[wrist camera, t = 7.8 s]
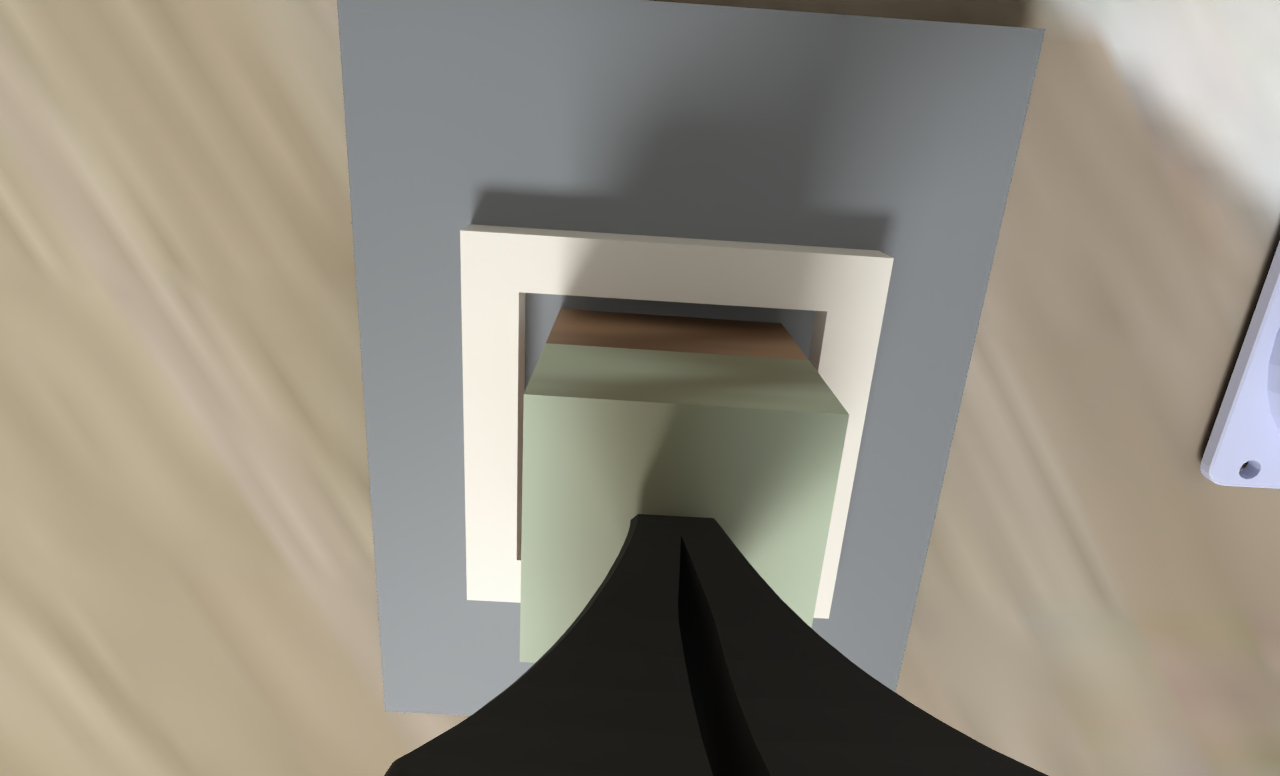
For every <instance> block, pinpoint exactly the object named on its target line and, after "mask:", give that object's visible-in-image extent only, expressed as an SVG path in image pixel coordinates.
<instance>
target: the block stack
mask: <svg viewBox="0 0 1280 776" xmlns="http://www.w3.org/2000/svg"><path fill="white" fill-rule="evenodd" d="M848 419H849V414H848V412H847V411H846V409H845V408H844V407H843V405H842V404H841V403H840V401H839V400H838V399H837V397H836V396H835V395H834V393H833V392H832V391H831V389H830V388H829V387H828V385H827V384H826V383H825V381H824V380H823V379H822V377H821V376H820V374H819V373H818V372H817V370H816V369H815V368H814V366H813V365H812V364H811V362H810V361H809V360H808V358H807V357H806V356H805V354H804V353H803V352H802V350H801V349H800V348H799V346H798V345H797V343H796V342H795V341H794V339H793V338H792V337H791V335H790V334H789V333H788V331H787V330H786V329H785V327H784V326H783V325H782V323H771V322H756V321H740V320H725V319H710V318H695V317H679V316H664V315H649V314H634V313H618V312H603V311H588V310H573V309H560V311H559V313H558V316H557V318H556V320H555V323H554V325H553V327H552V330H551V332H550V334H549V337H548V339H547V341H546V344H545V346H544V348H543V350H542V353H541V355H540V357H539V360H538V362H537V364H536V367H535V369H534V371H533V374H532V376H531V378H530V381H529V383H528V385H527V388H526V390H525V392H524V407H523V472H522V537H521V602H520V662H529V663H536V662H537V661H538V660H539V659H540V658H541V657H542V656H543V655H544V654H545V653H546V652H547V651H548V650H549V649H550V648H551V647H552V646H553V645H554V644H555V643H556V642H557V640H558V639H559V638H560V637H561V636H562V635H563V634H564V633H565V632H566V630H567V629H568V628H569V627H570V626H571V624H572V623H573V622H574V621H575V620H576V618H577V617H578V616H579V615H580V613H581V612H582V611H583V609H584V608H585V606H586V605H587V604H588V602H589V601H590V599H591V598H592V597H593V595H594V594H595V592H596V591H597V589H598V588H599V587H600V585H601V584H602V582H603V581H604V579H605V577H606V576H607V574H608V572H609V570H610V569H611V567H612V565H613V563H614V562H615V560H616V558H617V556H618V554H619V552H620V550H621V548H622V546H623V544H624V542H625V539H626V537H627V534H628V531H629V527H630V520H631V519H632V518H634V517H635V516H636V515H637V514H648V515H666V516H685V517H703V518H714V519H715V520H716V521H717V522H718V523H719V525H720V526H721V527H722V528H723V530H724V531H725V532H726V534H727V535H728V536H729V538H730V539H731V540H732V541H733V543H734V544H735V545H736V547H737V548H738V549H739V550H740V552H741V553H742V554H743V555H744V557H745V558H746V559H747V560H748V562H749V563H750V564H751V565H752V566H753V568H754V569H755V570H756V571H757V572H758V574H759V575H760V576H761V577H762V578H763V579H764V580H765V581H766V583H767V584H768V585H769V586H770V587H771V588H772V589H773V591H774V592H775V593H776V594H777V595H778V596H779V597H780V598H781V599H782V600H783V601H784V602H785V603H786V604H787V605H788V606H789V607H790V608H791V609H792V610H793V611H794V612H795V613H796V614H797V615H798V616H799V617H800V618H801V619H802V620H803V621H804V622H805V623H806V624H807V625H808V626H810V627H811V628H812V623H813V617H814V612H815V606H816V600H817V595H818V589H819V583H820V578H821V572H822V566H823V561H824V555H825V549H826V544H827V538H828V532H829V527H830V521H831V515H832V510H833V504H834V498H835V493H836V487H837V482H838V476H839V470H840V465H841V459H842V453H843V448H844V442H845V436H846V431H847V425H848Z"/></svg>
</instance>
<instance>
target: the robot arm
mask: <svg viewBox="0 0 1280 776" xmlns="http://www.w3.org/2000/svg"><path fill="white" fill-rule="evenodd" d="M1247 461H1248V464H1247V466H1246V467H1245V468H1244V469H1243V470H1241V471H1240V468H1241V466H1242V465H1243V464H1244V463H1246V462H1247ZM1200 469H1201V472H1202V474H1203V475H1204V476H1205V477H1206V478H1207V479H1209V480H1211V481H1212V482H1214V483H1215V484H1219V485H1223V486H1241V487H1258V488H1276V489H1280V241H1279V244H1278V247H1277V250H1276V253H1275V255H1274V258H1273V261H1272V264H1271V267H1270V269H1269V272H1268V275H1267V278H1266V281H1265V283H1264V286H1263V289H1262V292H1261V295H1260V298H1259V300H1258V303H1257V306H1256V309H1255V312H1254V314H1253V317H1252V320H1251V323H1250V326H1249V329H1248V331H1247V334H1246V337H1245V340H1244V343H1243V345H1242V348H1241V351H1240V354H1239V357H1238V360H1237V362H1236V365H1235V368H1234V371H1233V374H1232V376H1231V379H1230V382H1229V385H1228V388H1227V390H1226V393H1225V396H1224V399H1223V402H1222V405H1221V407H1220V410H1219V413H1218V416H1217V419H1216V421H1215V424H1214V427H1213V430H1212V433H1211V436H1210V438H1209V441H1208V444H1207V447H1206V450H1205V452H1204V455H1203V458H1202V461H1201V467H1200ZM384 776H1048V775H1046V774H1043V773H1041V772H1039V771H1037V770H1035V769H1033V768H1031V767H1029V766H1026V765H1024V764H1022V763H1020V762H1018V761H1016V760H1014V759H1012V758H1009V757H1007V756H1005V755H1003V754H1001V753H999V752H997V751H995V750H993V749H991V748H989V747H987V746H985V745H983V744H981V743H979V742H977V741H976V740H974V739H972V738H970V737H968V736H967V735H965V734H963V733H961V732H959V731H958V730H956V729H954V728H952V727H951V726H949V725H947V724H945V723H943V722H942V721H940V720H938V719H936V718H935V717H933V716H931V715H930V714H928V713H927V712H925V711H923V710H922V709H920V708H918V707H917V706H915V705H913V704H912V703H910V702H909V701H907V700H906V699H904V698H903V697H901V696H900V695H898V694H897V693H895V692H894V691H892V690H891V689H889V688H888V687H886V686H885V685H883V684H882V683H880V682H879V681H877V680H876V679H875V678H873V677H872V676H870V675H869V674H868V673H866V672H865V671H863V670H862V669H861V668H859V667H858V666H857V665H855V664H854V663H853V662H851V661H850V660H849V659H848V658H847V657H845V656H844V655H843V654H842V653H840V652H839V651H838V650H837V649H835V648H834V647H833V646H832V645H831V644H829V643H828V642H827V641H826V640H824V639H823V638H822V637H821V636H820V635H819V634H817V633H816V632H815V631H814V630H813V629H812V628H811V627H810V626H808V625H807V624H806V623H805V622H804V621H803V620H802V619H801V618H800V617H799V616H798V615H797V614H796V613H795V612H794V611H793V610H792V609H791V608H790V607H789V606H788V605H787V604H786V603H785V602H784V601H783V600H782V599H781V598H780V597H779V596H778V595H777V594H776V593H775V592H774V591H773V589H772V588H771V587H770V586H769V585H768V584H767V583H766V581H765V580H764V579H763V578H762V577H761V576H760V575H759V574H758V572H757V571H756V570H755V569H754V568H753V566H752V565H751V564H750V563H749V562H748V560H747V559H746V558H745V557H744V555H743V554H742V553H741V552H740V550H739V549H738V548H737V547H736V545H735V544H734V543H733V541H732V540H731V539H730V538H729V536H728V535H727V534H726V532H725V531H724V530H723V528H722V527H721V526H720V525H719V523H718V522H717V521H716V520H715V519H714V518H703V517H685V516H666V515H648V514H637V515H636V516H635V517H634V518H632V519H631V520H630V527H629V531H628V534H627V537H626V539H625V542H624V544H623V546H622V548H621V550H620V552H619V554H618V556H617V558H616V560H615V562H614V563H613V565H612V567H611V569H610V570H609V572H608V574H607V576H606V577H605V579H604V581H603V582H602V584H601V585H600V587H599V588H598V589H597V591H596V592H595V594H594V595H593V597H592V598H591V599H590V601H589V602H588V604H587V605H586V606H585V608H584V609H583V611H582V612H581V613H580V615H579V616H578V617H577V618H576V620H575V621H574V622H573V623H572V624H571V626H570V627H569V628H568V629H567V630H566V632H565V633H564V634H563V635H562V636H561V637H560V638H559V639H558V640H557V642H556V643H555V644H554V645H553V646H552V647H551V648H550V649H549V650H548V651H547V652H546V653H545V654H544V655H543V656H542V657H541V658H540V659H539V660H538V661H537V662H536V663H535V664H534V665H533V666H532V667H530V668H529V669H528V670H527V671H526V672H525V673H524V674H523V675H522V676H521V677H520V678H518V679H517V680H516V681H515V682H514V683H513V684H512V685H510V686H509V687H508V688H507V689H505V690H504V691H503V692H501V693H500V694H499V695H498V696H496V697H495V698H494V699H492V700H491V701H490V702H488V703H487V704H486V705H484V706H483V707H482V708H480V709H479V710H478V711H476V712H475V713H474V714H473V715H471V716H470V717H468V718H467V719H466V720H464V721H462V722H461V723H459V724H458V725H456V726H455V727H453V728H451V729H449V730H448V731H446V732H444V733H443V734H441V735H439V736H438V737H436V738H434V739H432V740H431V741H429V742H427V743H426V744H424V745H422V746H420V747H419V748H417V749H415V750H414V751H412V752H410V753H408V754H406V755H404V756H403V757H401V758H399V759H397V760H396V761H394V762H393V763H392V765H391V766H390V768H389V769H388V771H387V772H386V774H385V775H384Z"/></svg>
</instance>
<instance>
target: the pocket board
mask: <svg viewBox="0 0 1280 776" xmlns="http://www.w3.org/2000/svg"><path fill="white" fill-rule="evenodd" d="M337 6H338V20H339V35H340V50H341V65H342V80H343V95H344V110H345V125H346V139H347V154H348V169H349V184H350V199H351V214H352V229H353V243H354V258H355V273H356V288H357V303H358V318H359V333H360V347H361V362H362V377H363V392H364V407H365V422H366V437H367V452H368V466H369V481H370V496H371V511H372V526H373V541H374V556H375V570H376V585H377V600H378V615H379V630H380V645H381V660H382V674H383V689H384V704H385V712H403V713H424V714H445V715H465V716H471V715H473V714H474V713H475V712H476V711H478V710H479V709H480V708H482V707H483V706H484V705H486V704H487V703H488V702H490V701H491V700H492V699H494V698H495V697H496V696H498V695H499V694H500V693H501V692H503V691H504V690H505V689H507V688H508V687H509V686H510V685H512V684H513V683H514V682H515V681H516V680H517V679H518V678H520V677H521V676H522V675H523V674H524V673H525V672H526V671H527V670H528V669H529V668H530V667H532V666H533V665H534V664H535V663H529V662H520V602H521V537H522V472H523V407H524V392H525V390H526V388H527V385H528V383H529V381H530V378H531V376H532V374H533V371H534V369H535V367H536V364H537V362H538V360H539V357H540V355H541V353H542V350H543V348H544V346H545V344H546V341H547V339H548V337H549V334H550V332H551V330H552V327H553V325H554V323H555V320H556V318H557V316H558V313H559V311H560V309H573V310H588V311H603V312H618V313H634V314H649V315H664V316H679V317H695V318H710V319H725V320H740V321H756V322H771V323H782V325H783V326H784V327H785V329H786V330H787V331H788V333H789V334H790V335H791V337H792V338H793V339H794V341H795V342H796V343H797V345H798V346H799V348H800V349H801V350H802V352H803V353H804V354H805V356H806V357H807V358H808V360H809V361H810V362H811V364H812V365H813V366H814V368H815V369H816V370H817V372H818V373H819V374H820V376H821V377H822V379H823V380H824V381H825V383H826V384H827V385H828V387H829V388H830V389H831V391H832V392H833V393H834V395H835V396H836V397H837V399H838V400H839V401H840V403H841V404H842V405H843V407H844V408H845V409H846V411H847V412H848V414H849V419H848V425H847V431H846V436H845V442H844V448H843V453H842V459H841V465H840V470H839V476H838V482H837V487H836V493H835V498H834V504H833V510H832V515H831V521H830V527H829V532H828V538H827V544H826V549H825V555H824V561H823V566H822V572H821V578H820V583H819V589H818V595H817V600H816V606H815V612H814V617H813V623H812V629H813V630H814V631H815V632H816V633H817V634H819V635H820V636H821V637H822V638H823V639H824V640H826V641H827V642H828V643H829V644H831V645H832V646H833V647H834V648H835V649H837V650H838V651H839V652H840V653H842V654H843V655H844V656H845V657H847V658H848V659H849V660H850V661H851V662H853V663H854V664H855V665H857V666H858V667H859V668H861V669H862V670H863V671H865V672H866V673H868V674H869V675H870V676H872V677H873V678H875V679H876V680H877V681H879V682H880V683H882V684H883V685H885V686H886V687H888V688H889V689H891V690H892V691H894V692H895V691H896V687H897V682H898V678H899V673H900V669H901V664H902V660H903V656H904V651H905V647H906V642H907V638H908V634H909V629H910V625H911V620H912V616H913V611H914V607H915V603H916V598H917V594H918V589H919V585H920V581H921V576H922V572H923V567H924V563H925V558H926V554H927V550H928V545H929V541H930V536H931V532H932V528H933V523H934V519H935V514H936V510H937V505H938V501H939V497H940V492H941V488H942V483H943V479H944V475H945V470H946V466H947V461H948V457H949V452H950V448H951V444H952V439H953V435H954V430H955V426H956V422H957V417H958V413H959V408H960V404H961V399H962V395H963V391H964V386H965V382H966V377H967V373H968V369H969V364H970V360H971V355H972V351H973V346H974V342H975V338H976V333H977V329H978V324H979V320H980V316H981V311H982V307H983V302H984V298H985V293H986V289H987V285H988V280H989V276H990V271H991V267H992V263H993V258H994V254H995V249H996V245H997V240H998V236H999V232H1000V227H1001V223H1002V218H1003V214H1004V210H1005V205H1006V201H1007V196H1008V192H1009V187H1010V183H1011V179H1012V174H1013V170H1014V165H1015V161H1016V157H1017V152H1018V148H1019V143H1020V139H1021V134H1022V130H1023V126H1024V121H1025V117H1026V112H1027V108H1028V104H1029V99H1030V95H1031V90H1032V86H1033V81H1034V77H1035V73H1036V68H1037V64H1038V59H1039V55H1040V51H1041V46H1042V42H1043V37H1044V33H1045V29H1036V28H1022V27H1008V26H994V25H980V24H966V23H953V22H939V21H925V20H911V19H897V18H884V17H870V16H856V15H842V14H828V13H815V12H801V11H787V10H773V9H759V8H745V7H732V6H718V5H704V4H690V3H676V2H663V1H649V0H337Z"/></svg>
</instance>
